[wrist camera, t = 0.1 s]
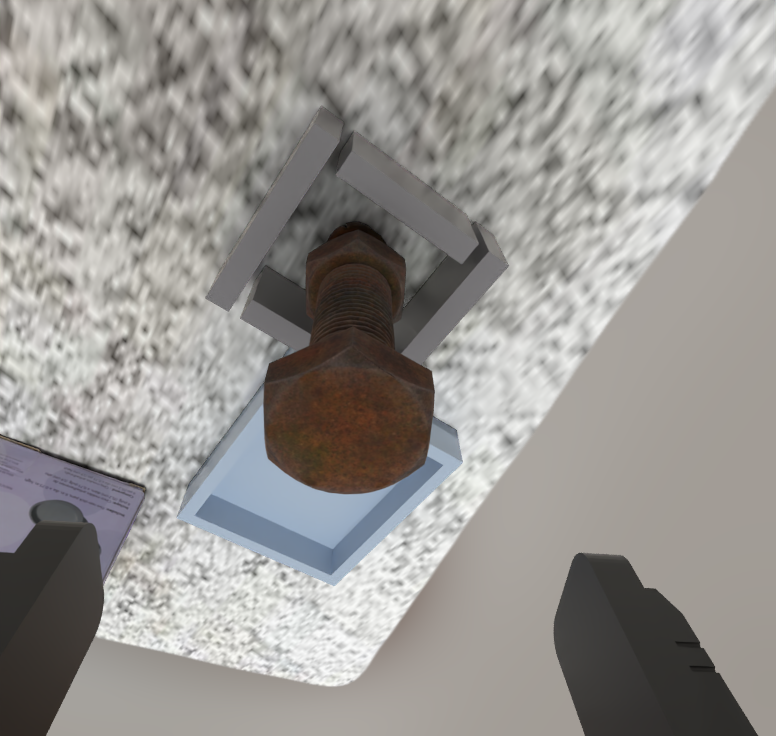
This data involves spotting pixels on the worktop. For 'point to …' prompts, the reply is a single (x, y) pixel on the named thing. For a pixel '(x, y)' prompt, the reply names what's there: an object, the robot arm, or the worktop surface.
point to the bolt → (350, 376)
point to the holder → (395, 195)
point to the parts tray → (303, 501)
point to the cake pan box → (62, 499)
